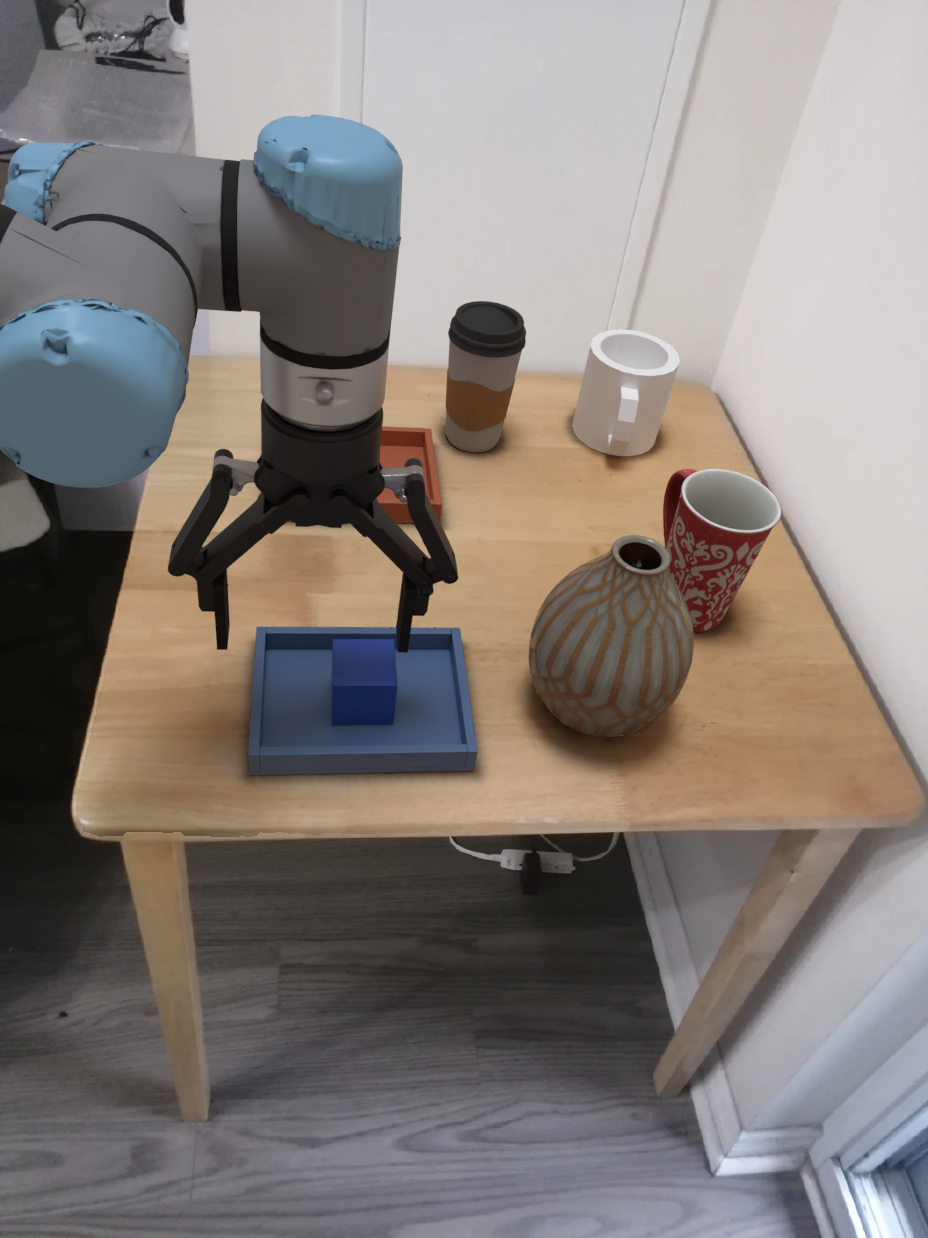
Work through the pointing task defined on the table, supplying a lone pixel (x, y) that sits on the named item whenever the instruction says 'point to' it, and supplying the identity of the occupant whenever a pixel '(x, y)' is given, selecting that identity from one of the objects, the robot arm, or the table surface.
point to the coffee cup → (481, 372)
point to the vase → (613, 641)
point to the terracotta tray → (395, 453)
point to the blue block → (363, 682)
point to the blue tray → (309, 744)
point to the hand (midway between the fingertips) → (314, 638)
